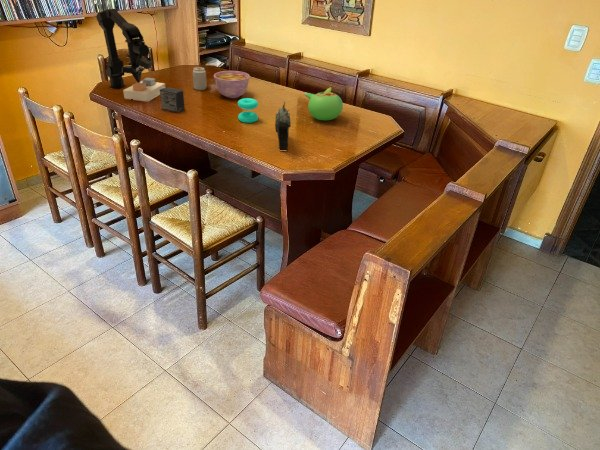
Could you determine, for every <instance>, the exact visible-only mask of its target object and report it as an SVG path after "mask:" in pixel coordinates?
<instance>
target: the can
mask: <svg viewBox="0 0 600 450" xmlns="http://www.w3.org/2000/svg"><path fill="white" fill-rule="evenodd" d="M192 80H193V81H192V82H193V89H194V90H196V91H204V90H206V89H207V88H208V87H207V71H206V70H205V67H202V66H197V67H196V66H195V67H193V70H192Z"/></svg>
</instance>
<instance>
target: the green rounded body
mask: <svg viewBox="0 0 600 450" xmlns="http://www.w3.org/2000/svg"><path fill="white" fill-rule="evenodd" d="M332 89H333V88H332V87H331V86H330V87H328V88H327V89H326V90H325V91H321V92H317V93H316V94H315V93H311V92H304V93H303V95H304V96H305V97H306V98H307V99H309V100H308V104H307V110H308V112H309V114H310V116H312V117H313V118H314V119H316V120H319V121H331V120H334V119H337V117H339V116H340V115H341V113H342V111H343V108H344V105H343V103H344V102H343V100H342V98H341V97H340V96H339V95H338V94H336V93H334V92H332Z"/></svg>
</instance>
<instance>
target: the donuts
mask: <svg viewBox="0 0 600 450" xmlns="http://www.w3.org/2000/svg"><path fill="white" fill-rule="evenodd" d="M237 105H238V107H239V108H240V109H243V110H246V111H242V112H240V113H238V116H237V118H238V120H239V121H240V122H242V123H247V124H250V123H255V122H257V121H258V120H259V115H258V114H257V113H256V112H254V111H251V110H254V109H256V108H258V105H259V102H258V100H257V99H254V98H252V97H251V98H250V97H249V98H248V97H246V98H245V97H244V98H241V99H239V100H238V101H237ZM248 110H249V111H248Z"/></svg>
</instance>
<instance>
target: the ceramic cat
mask: <svg viewBox="0 0 600 450" xmlns="http://www.w3.org/2000/svg"><path fill="white" fill-rule="evenodd" d="M285 105H286V102H285V101H284V102H283V105H282V107H281V108H279V109H278V112H277V113H275V122H274V123H275V124H274V129H275V132H276V133H277V137H278V149H280V150H287V151H288V148H289V131H290V128H291V126H292V125H291V115H290V113H289V109H287V108H285ZM280 150H279V151H280Z"/></svg>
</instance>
